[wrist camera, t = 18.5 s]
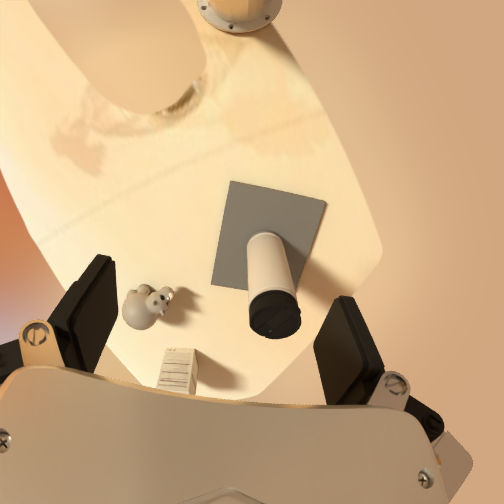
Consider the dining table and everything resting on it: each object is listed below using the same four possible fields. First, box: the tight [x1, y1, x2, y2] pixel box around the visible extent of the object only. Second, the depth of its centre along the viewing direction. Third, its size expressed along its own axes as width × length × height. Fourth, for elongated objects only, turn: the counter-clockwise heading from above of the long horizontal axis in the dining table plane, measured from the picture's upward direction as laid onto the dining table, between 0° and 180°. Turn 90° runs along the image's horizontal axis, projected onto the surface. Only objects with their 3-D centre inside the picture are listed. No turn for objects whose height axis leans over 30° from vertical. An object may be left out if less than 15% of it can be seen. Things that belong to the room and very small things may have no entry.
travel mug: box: [247, 230, 301, 339], centre depth 42 cm, size 6×7×20 cm
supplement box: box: [156, 348, 199, 395], centre depth 61 cm, size 7×7×13 cm
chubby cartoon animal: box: [122, 284, 174, 330], centre depth 52 cm, size 7×12×8 cm, turn 116°
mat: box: [211, 181, 326, 291], centre depth 51 cm, size 20×16×1 cm
